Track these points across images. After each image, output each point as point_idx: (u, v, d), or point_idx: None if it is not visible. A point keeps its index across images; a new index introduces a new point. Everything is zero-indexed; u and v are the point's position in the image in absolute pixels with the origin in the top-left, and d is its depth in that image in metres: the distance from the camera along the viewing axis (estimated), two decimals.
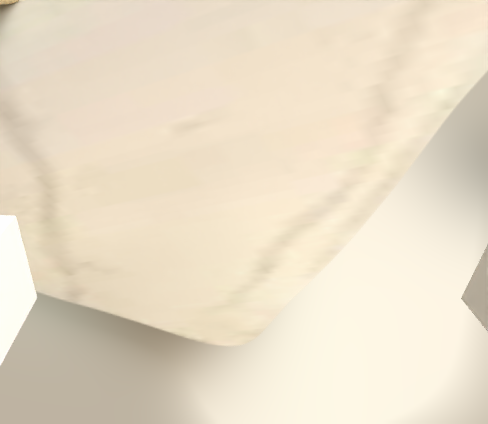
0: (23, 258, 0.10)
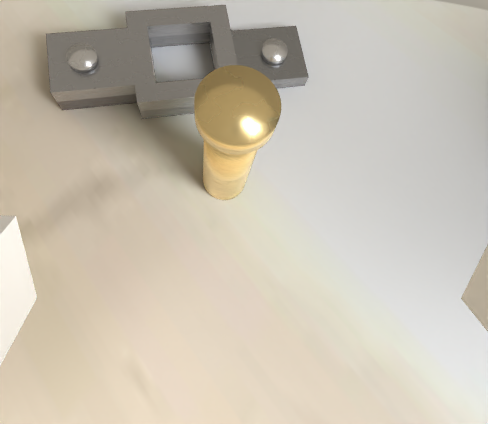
0: (23, 258, 0.10)
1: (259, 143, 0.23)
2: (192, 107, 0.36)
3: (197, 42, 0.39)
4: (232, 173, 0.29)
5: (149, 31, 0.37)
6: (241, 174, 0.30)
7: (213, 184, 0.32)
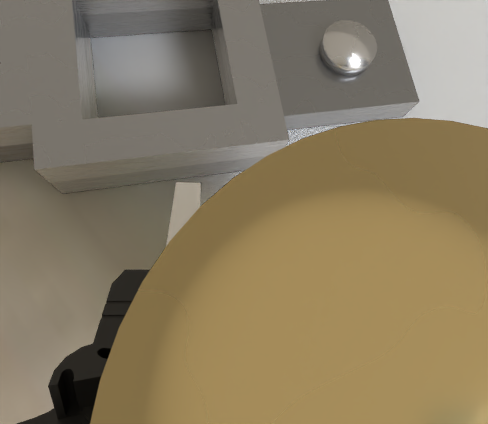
0: None
1: None
2: (173, 170, 0.16)
3: (187, 28, 0.19)
4: None
5: (79, 1, 0.17)
6: None
7: None
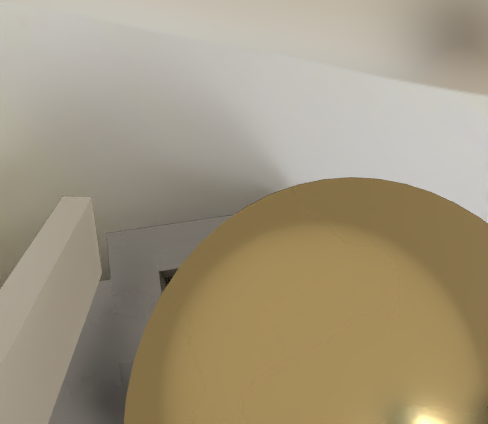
0: (95, 236, 0.11)
1: None
2: None
3: None
4: None
5: (163, 272, 0.15)
6: None
7: None
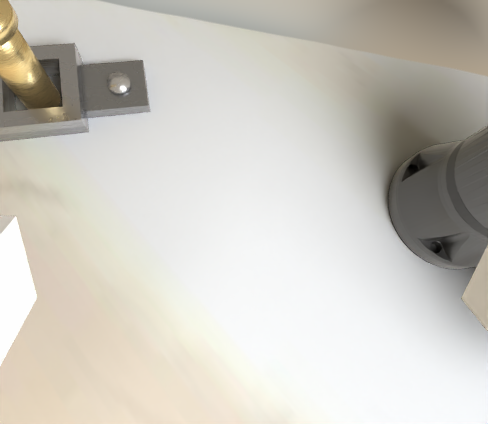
0: (23, 258, 0.10)
1: None
2: (41, 132, 0.42)
3: (56, 74, 0.45)
4: (12, 78, 0.37)
5: None
6: (25, 81, 0.38)
7: (17, 96, 0.41)
